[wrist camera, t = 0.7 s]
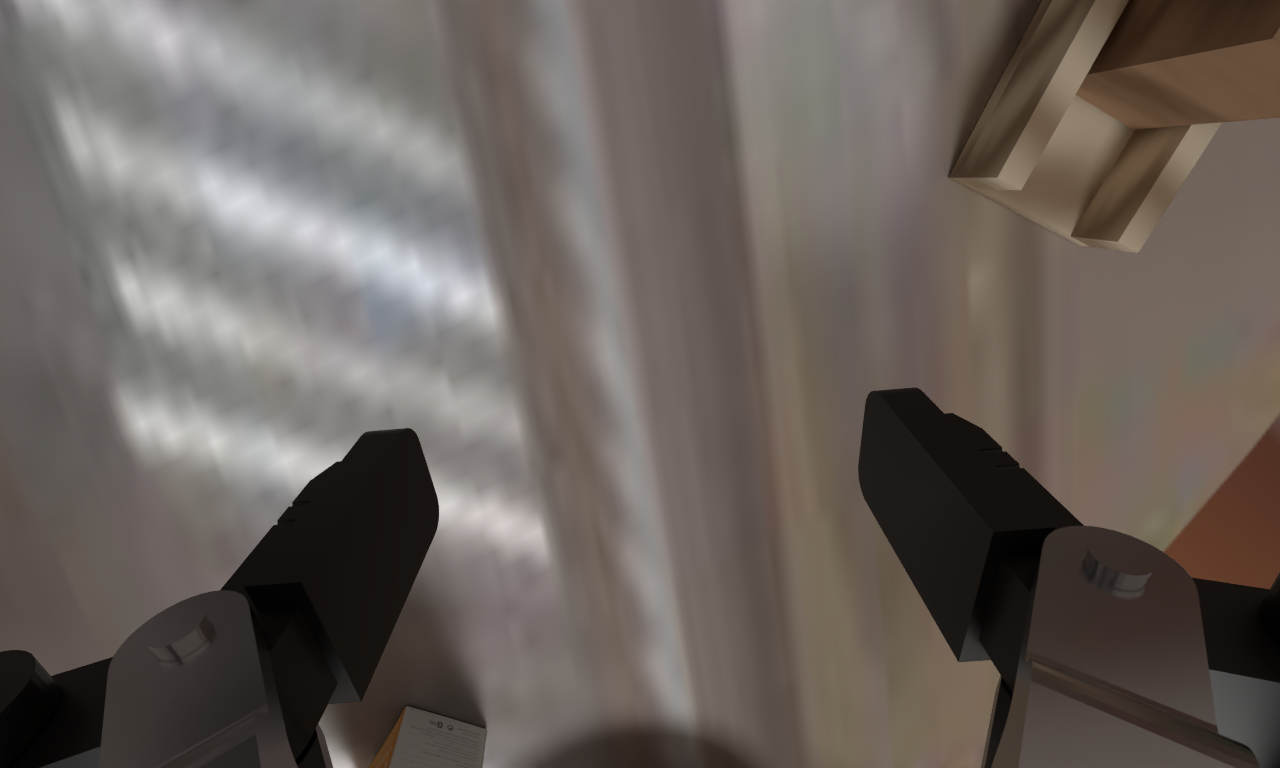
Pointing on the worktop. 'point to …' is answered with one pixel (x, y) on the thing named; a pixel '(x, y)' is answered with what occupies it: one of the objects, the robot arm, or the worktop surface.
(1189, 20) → the walnut block
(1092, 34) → the birch chute
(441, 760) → the small box
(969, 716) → the worktop surface
